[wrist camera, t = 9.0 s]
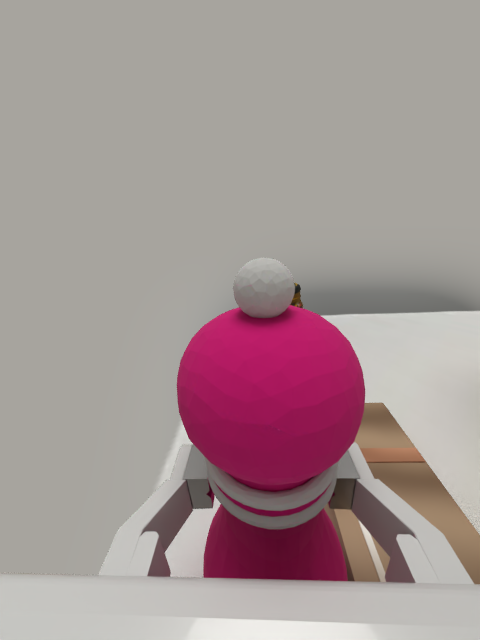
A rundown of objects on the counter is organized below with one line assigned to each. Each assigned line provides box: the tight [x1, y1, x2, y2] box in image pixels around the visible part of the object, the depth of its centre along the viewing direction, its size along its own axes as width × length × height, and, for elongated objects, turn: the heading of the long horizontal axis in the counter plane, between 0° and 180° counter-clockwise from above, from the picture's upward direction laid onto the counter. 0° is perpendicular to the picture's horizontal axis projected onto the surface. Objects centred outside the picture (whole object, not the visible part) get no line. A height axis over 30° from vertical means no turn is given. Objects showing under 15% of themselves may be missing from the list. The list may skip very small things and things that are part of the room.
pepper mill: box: [177, 258, 365, 581], centre depth 10 cm, size 7×7×20 cm
